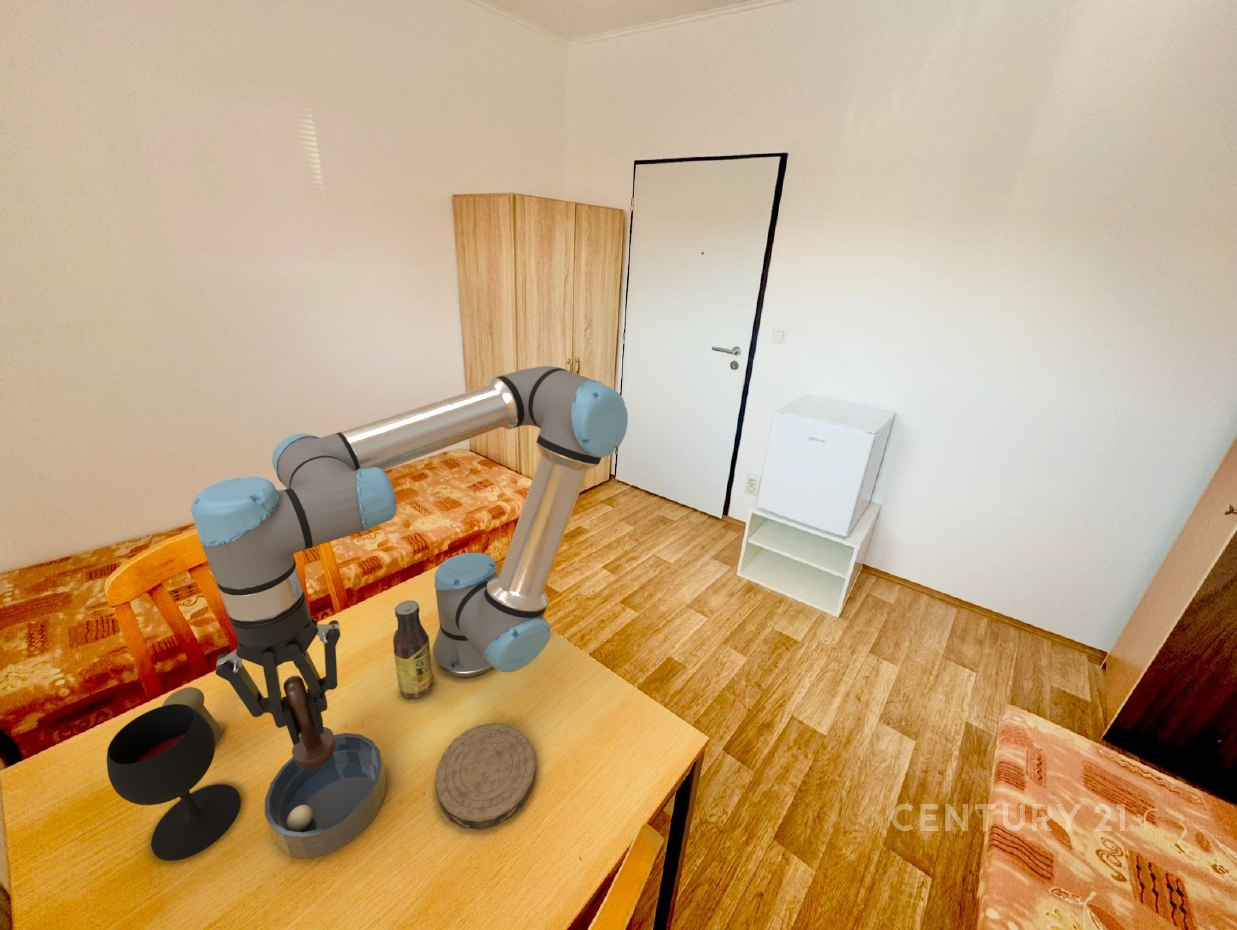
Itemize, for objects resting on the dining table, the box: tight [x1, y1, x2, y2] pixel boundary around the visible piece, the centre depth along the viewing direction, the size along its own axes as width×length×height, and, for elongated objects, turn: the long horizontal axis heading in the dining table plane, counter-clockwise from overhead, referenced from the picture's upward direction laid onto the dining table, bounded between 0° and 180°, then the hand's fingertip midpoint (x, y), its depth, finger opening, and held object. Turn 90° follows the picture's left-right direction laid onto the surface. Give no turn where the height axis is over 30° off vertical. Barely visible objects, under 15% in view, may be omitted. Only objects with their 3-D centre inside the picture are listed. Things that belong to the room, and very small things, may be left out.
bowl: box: [264, 732, 387, 859], centre depth 75 cm, size 15×15×6 cm
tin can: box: [434, 722, 536, 832], centre depth 81 cm, size 16×16×3 cm
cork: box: [162, 686, 223, 746], centre depth 81 cm, size 6×6×11 cm
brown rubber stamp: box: [282, 675, 336, 770], centre depth 68 cm, size 5×5×16 cm
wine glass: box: [106, 704, 242, 862], centre depth 68 cm, size 10×10×20 cm
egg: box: [287, 805, 313, 832], centre depth 72 cm, size 3×3×3 cm
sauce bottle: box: [392, 599, 434, 700], centre depth 92 cm, size 7×6×20 cm
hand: (308, 730), depth 68 cm, fingers closed on brown rubber stamp, 2 cm apart
